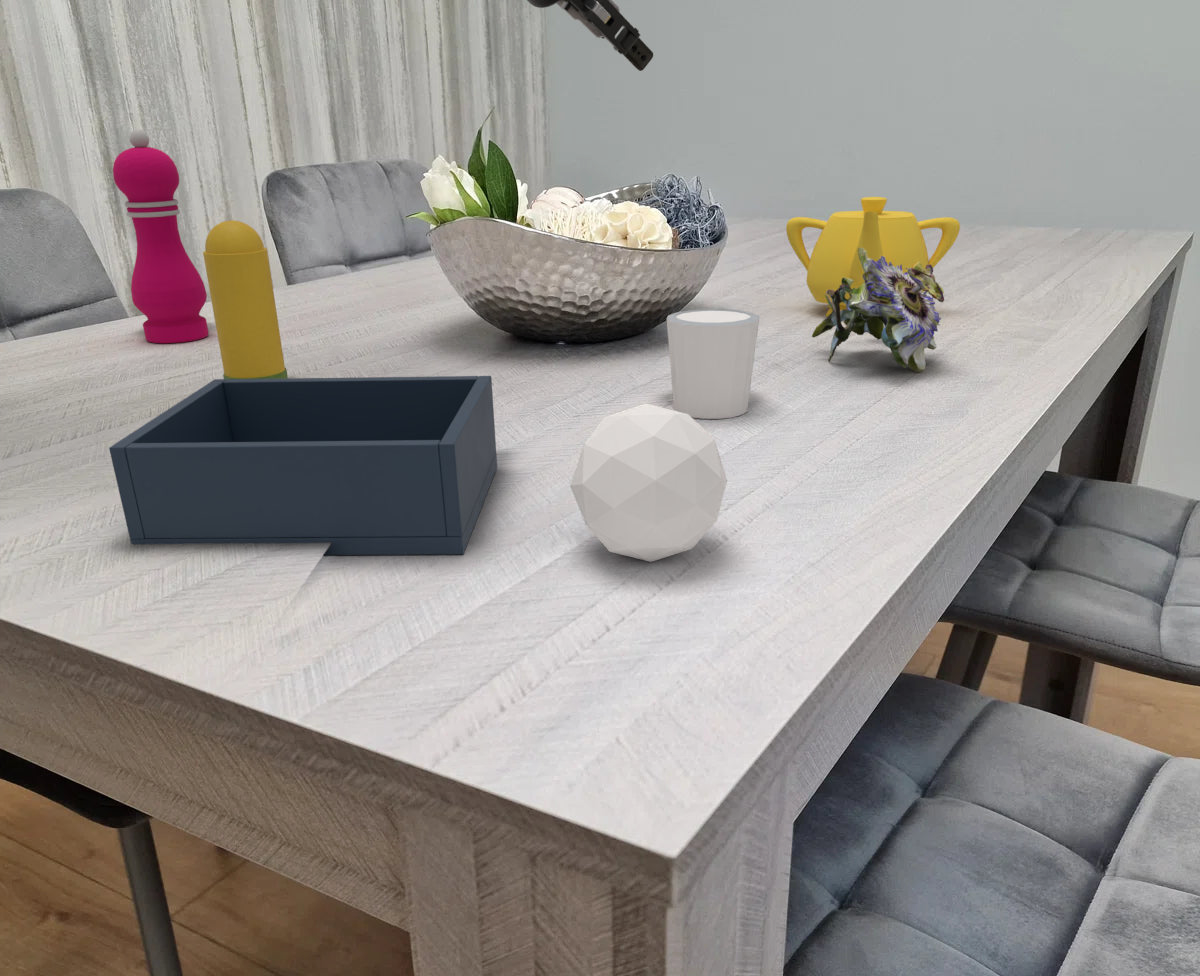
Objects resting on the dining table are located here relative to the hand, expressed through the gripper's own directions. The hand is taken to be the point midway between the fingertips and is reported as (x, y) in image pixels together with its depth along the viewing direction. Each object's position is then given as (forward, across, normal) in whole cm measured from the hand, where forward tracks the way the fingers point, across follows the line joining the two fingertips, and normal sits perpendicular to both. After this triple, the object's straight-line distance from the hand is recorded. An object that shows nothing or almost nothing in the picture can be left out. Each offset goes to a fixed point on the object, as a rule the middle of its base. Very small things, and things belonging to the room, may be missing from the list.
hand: (627, 46), depth 111 cm
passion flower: (+6, -47, +6) cm, 48 cm away
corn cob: (-29, -29, +41) cm, 58 cm away
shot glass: (-12, -51, +17) cm, 55 cm away
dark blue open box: (-38, -56, +33) cm, 76 cm away
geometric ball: (-32, -71, +21) cm, 80 cm away
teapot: (+23, -30, +4) cm, 38 cm away
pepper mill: (-24, -1, +52) cm, 57 cm away
